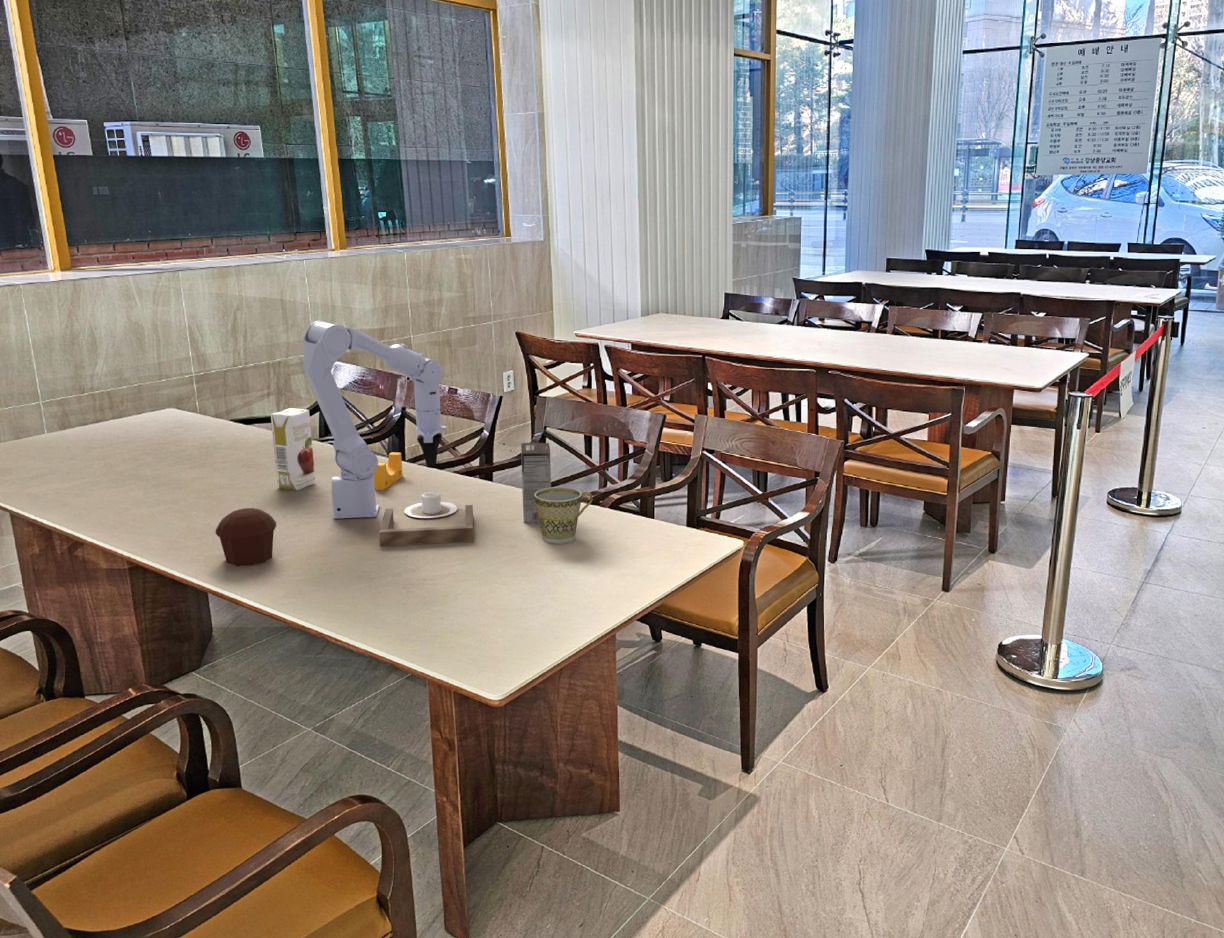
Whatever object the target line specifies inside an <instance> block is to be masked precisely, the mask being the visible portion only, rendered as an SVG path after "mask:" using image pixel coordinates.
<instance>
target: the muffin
mask: <svg viewBox="0 0 1224 938" xmlns="http://www.w3.org/2000/svg"><path fill="white" fill-rule="evenodd" d="M276 528H277V522H276V520H275V519H274V518H273V516H271V515H270V514H269V513H267V512H265V511H264V510H262V509H259V508H256V507H250V508H249V507H246V508H245V507H244V508H239V509H237V510H233V511H232V512H230V513H228V514H227V515H225V516H224V517H223V518H221V520H220V521H219V523H218V525H217V527H216V528H215V535H216V536H217V537H218V538H219V539H220V543H221V547H222V551H223V555H224V558H225V561H226V564H227V563H228V564H227V565H230V564H231V566H234V565H235V566H234V567H251V566H255V565H259V564H263V563H264V564H265V562H267V561H269V560H270V558H271V559H272V558H273V546H274V531H275V530H276Z"/></svg>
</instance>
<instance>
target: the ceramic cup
mask: <svg viewBox="0 0 1224 938" xmlns="http://www.w3.org/2000/svg"><path fill="white" fill-rule="evenodd" d="M586 496H589V497H590V499H589V502H587V504H585V505H584V506H583V507H582V508H581V505H582V499H584V498H585V497H586ZM534 498H535V504H536V509H537V513H538V518H539V522H538V524H539V528H540V532H541V537H542V540H543V541H544V542H545V543H548V544H555V545H562V544H568V543H572V541H573V540H574V539H575V538H576V533H577V526H578V521H579V517H580V516H581V515H582V514H583V512H584V511H585V510H586V509H587V508H588V507H589V506H590V505H591V504H592V502H593V500H594V499H593V495H592V493H590V492H589V491H584V492H581V490H579V489H576V488H573V487H568V486H567V487H566V486H551V487H550V488H545V489H541V490H538V491H537V492H535V494H534ZM567 542H568V543H567Z"/></svg>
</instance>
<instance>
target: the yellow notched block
mask: <svg viewBox="0 0 1224 938" xmlns="http://www.w3.org/2000/svg"><path fill="white" fill-rule="evenodd" d="M402 461H403V460H402V452H393V451H392V452H390V453H389V454H388V461H387V463H385V462H384V463H383V462H378V466H377V469H376V471H375V472H374V485H375V489H377V490H378V491H379V490H380V491H381V490H382V491H385V490H386V489H388V488H389V487H391V486H392V485H393V484H395V483H396V482H398V481H399V480H400V479H401V478H403V477H404V476H403V464H402V463H403V462H402ZM377 490H376V491H377Z"/></svg>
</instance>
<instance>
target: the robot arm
mask: <svg viewBox="0 0 1224 938" xmlns="http://www.w3.org/2000/svg"><path fill="white" fill-rule="evenodd" d="M302 342H303V345H304V346H303V349H304V350H303V362H302V369H303V373H304V375H305V377H306V379H307V382H308V384H309V386H310V388H311V390H312V393H313V394H314V397H315V399H316V403H317V404H318V406H319V408H320V411H321V413H322V415H323V417H324V419H325V423H326V424H327V426H328V429H329V430H330V433H331V435H332V437H333V439H334V442H333V443H332V447H333V450H334V461H335V464H336V465H337V467H338V468H340V475H336V476H332V478H331V499H332V509H333V510H332V511H333V512H332V513H333V519H354V518H357V519H358V518H375V517H377V516H378V513H379V509H380V504H378V503H377V502H376V490H375V485H374V472H375V471H376V469H377V466H378V463H379V459H378V458H377V455H376V453H374V451H371V449H370V448H369V447H368V445H367V442H366V441H365V440H364V439H363V438H362V437H361V436H360V434H359V433H358V431H357V429H356V426H355V423H354V421H353V419H352V417H351V414H350V412H349V409H348V407H347V405H346V403H345V400H344V399H343V396H342V393H341V391H340V389H339V386H338V385H337V383H336V380H335V377H334V376H333V373H332V369H333V367H334V365H335V363H336V362H337V361H338V360H340V358H341V357H342V355H344V353H346V351H347V350H349V351H353V350H355V349H359V350H361V351H363V352H365V353H368V354H371V355H373V356H376V357H378V358H380V359H382V360H383V362H384V364H385V366H386V367H387V368H388V369H390V370H393V371H395V372H398V373H400V374H402V375H405V376H406V377H409V378H410V380H412V381H413V388H414V401H415V402H414V403H415V405H414V406H415V418H416V419H415V422H416V427H415V431H416V433H418V435H417V437H416V440H417V442H418V444H419V445H420V448H421V450H422V454H423V458H424V460H425V461H424V462H425V464H426V466H436V465H437V459H438V451H439V446H440V443H441V441H442V437H443V434H442V431H446V430H447V426H446V425H442V415H441V395H440V383H441V381H442V380H443V376H444V370H443V369H442V366H441V365H440V363H439V362H438V361H437V360H434V359H431V358H427V357H425V353H422V352H415V351H413V350H411V349H409V345H407V344H405V343H400V344H398V343H396V344H392V345H387V344H385V343H384V342H382V341H380V340H377V339H375V338H374V337H372V336H370V335H368V334H366V333H364V332H362V331H360V330H358V329H353V328H349V327H345V326H344V325H341V324H334V323H330V322H327V321H325V320H316V321H313V322H312V323H310V324H309V326H307V328H306V330H305V332H304V334H303V336H302ZM376 503H377V504H376Z"/></svg>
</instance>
